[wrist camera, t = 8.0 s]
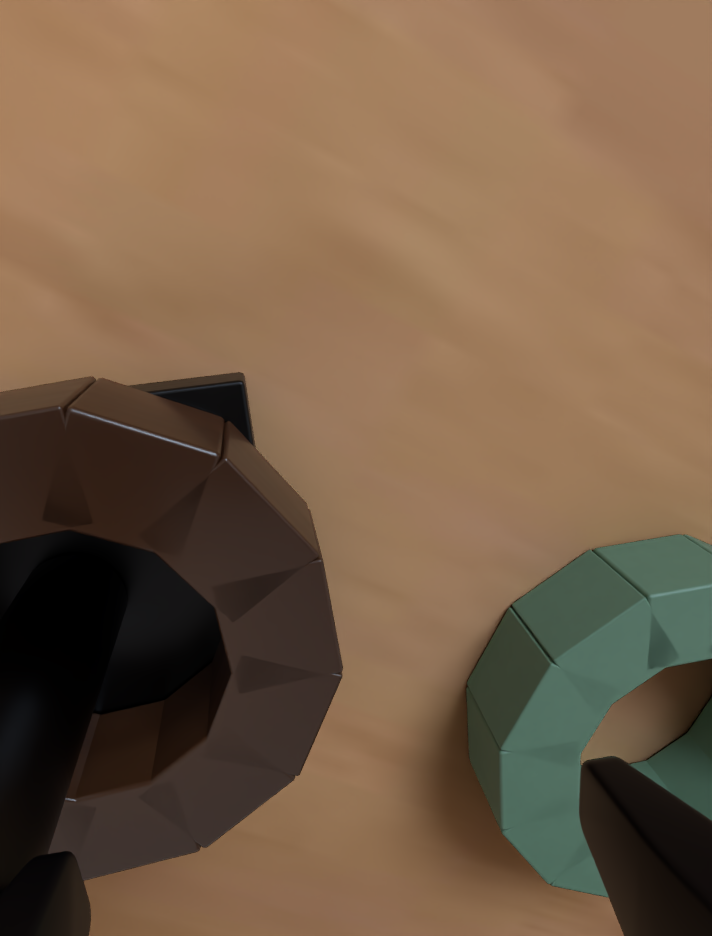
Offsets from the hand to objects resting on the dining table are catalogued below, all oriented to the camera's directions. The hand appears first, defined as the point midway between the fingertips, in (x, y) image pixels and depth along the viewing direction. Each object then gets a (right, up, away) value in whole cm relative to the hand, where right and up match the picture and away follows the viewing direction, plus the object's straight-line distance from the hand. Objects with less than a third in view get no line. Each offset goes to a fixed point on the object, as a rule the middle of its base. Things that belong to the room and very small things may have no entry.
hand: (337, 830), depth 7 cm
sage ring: (+8, -2, +10) cm, 13 cm away
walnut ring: (-5, +1, +6) cm, 8 cm away
